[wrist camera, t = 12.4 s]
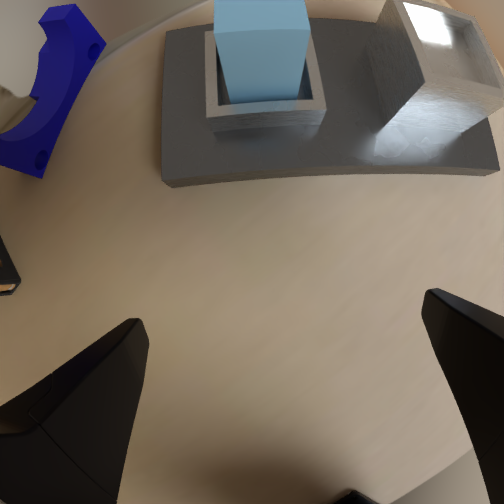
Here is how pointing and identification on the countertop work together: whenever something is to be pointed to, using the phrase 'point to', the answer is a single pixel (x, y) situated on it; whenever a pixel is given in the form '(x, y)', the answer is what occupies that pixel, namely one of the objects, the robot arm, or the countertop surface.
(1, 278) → the ammunition clip
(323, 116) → the grey peg holder base
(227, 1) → the plug
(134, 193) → the countertop surface
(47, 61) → the cable clip
